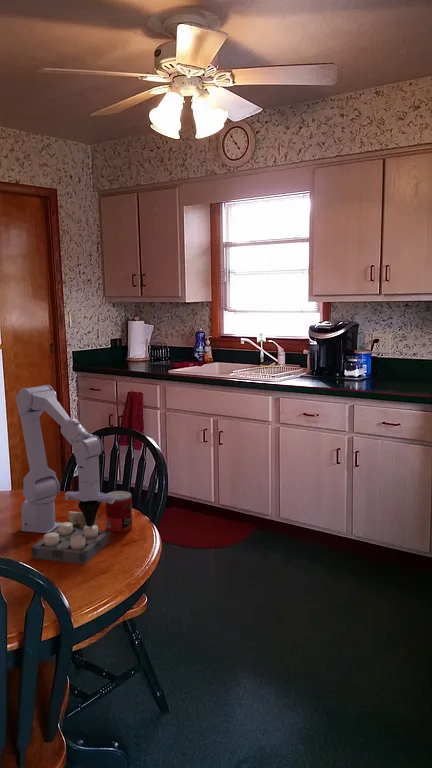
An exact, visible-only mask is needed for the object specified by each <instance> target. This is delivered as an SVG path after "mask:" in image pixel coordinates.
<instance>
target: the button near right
mask: <svg viewBox="0 0 432 768" xmlns="http://www.w3.org/2000/svg"><path fill="white" fill-rule="evenodd" d="M70 547H71V549H73V550H83V549H84V548H85V537H84V536H81V535H77V536H73V537H71V538H70Z"/></svg>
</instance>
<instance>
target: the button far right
mask: <svg viewBox="0 0 432 768" xmlns="http://www.w3.org/2000/svg"><path fill="white" fill-rule="evenodd" d="M97 525H98V524H97ZM97 525H93V526H92V527H88V526H85V527H84V537H85V538H90V539H95V538H97V537H98V530H99V526H97Z"/></svg>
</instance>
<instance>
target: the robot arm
mask: <svg viewBox="0 0 432 768" xmlns="http://www.w3.org/2000/svg"><path fill="white" fill-rule="evenodd" d="M15 400H16V405H17V406H16V407H17V411H18V412H17V413H18V416H20V422H21V429H22V434H23V438H24V445H25V451H26V456H27V463H28V468H29V471H28V472H27V474H26V475H25V476H24V477H23V479H22V482H23V488H22V495H23V497H24V498H25V500H24V501H23V503H22V505H21V526H22V527H21V529H20V532H21V531H22V532H28V533H30V532H31V533H37V534H38V533H39V534H47V533H51V532H53V531H54V530H56V529H57V528H58V525H59V524H61V523H62V522H57V521H56V509H55V508H56V507H55V500H56V499H57V495H59V493H60V490H61V486H60V481H59V480H58V478H57V475H56V472H55V470H53V469H51V468H49V466H48V460H47V455H46V450H45V444H44V439H43V434H42V429H41V428H42V427H41V421H40V417H41V415H42V414H43V412H46V413H47V414H48V415H49V416H50V417H51V418H52V419H53V420H54V421H55V422H56V423H57V424H58V426H60V433H61V435H62V436H63V437H64V438H65V439H66V440H67V442H68V444H70V445H71V446H72V452H73V455H74V457H75V463H76V465H77V469H78V491H67V492H65V493H64V499H65V501H70V500H71V501H79V503H78V504H77V506H78V508H79V510H80V512H82V513H83V515H84V518H85V521H86V524H87V526H88V527H92V526H93V525H94V523H95V518H96V514H97V513H98V512H99V508H100V506H101V504H102V503H109V504H113V503H114V502H115V496H114V495H109V494H107V493H104V492H102V491H100V489H101V488H100V487H101V486H100V461H99V460H100V459H99V456H100V455H101V454H102V453H103V450H104V447H103V443H102V440H101V439H100V437H99V436H98V435H93V434H92V433H89V432H88V430H87V429H85V427H84V426H83V425H82V424H81V423H80V421H79V420H78V419H76V418H71V417H70V416H69V415H68V413H67V412H66V410H65V409H64V407H63V406H62V405H61V403H60V402H59V401H58V399H57V392H56V391H55V390H54V388H53V387H52V386H51V385H50V384H43V385H38V386H34V387H22V388H20V389H19V391H17V394H16V396H15ZM97 515H98V514H97Z"/></svg>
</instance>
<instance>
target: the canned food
mask: <svg viewBox="0 0 432 768" xmlns="http://www.w3.org/2000/svg"><path fill="white" fill-rule="evenodd" d="M106 494H109V495H114V496H115V502H114V503H113V504H109V503H105V528H106V531H110V534H115V535H116V534H118V535H119V534H126V533H128V532H130V531H131V530H132V528H133V508H132V507H133V506H132V505H133V504H132V503H133V502H132V500H133V499H132V493H131V492H129V491H125V490H114V491H110V492H107V493H106Z"/></svg>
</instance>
